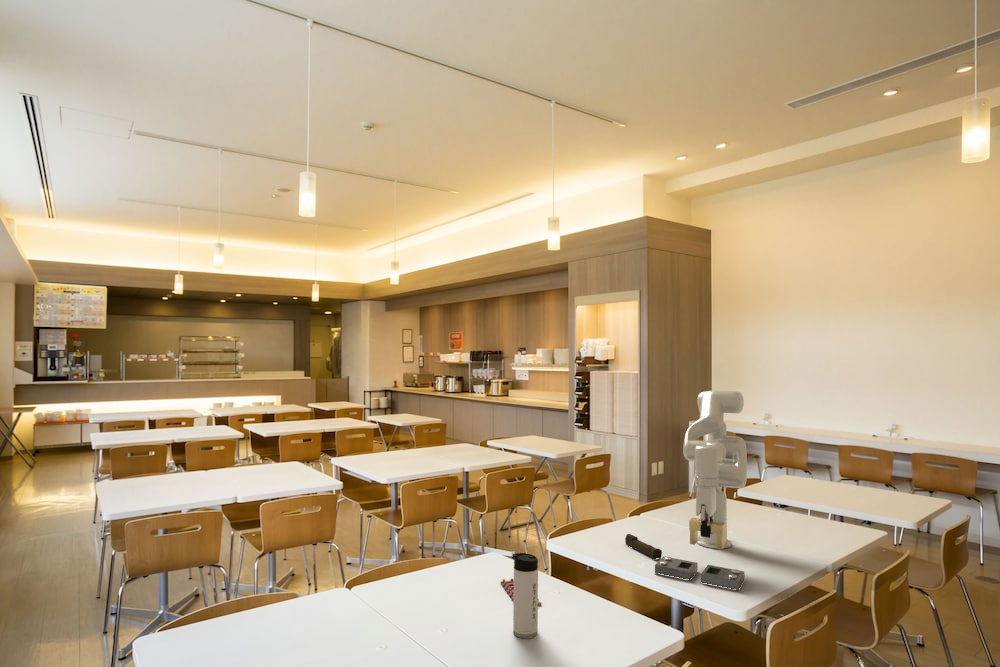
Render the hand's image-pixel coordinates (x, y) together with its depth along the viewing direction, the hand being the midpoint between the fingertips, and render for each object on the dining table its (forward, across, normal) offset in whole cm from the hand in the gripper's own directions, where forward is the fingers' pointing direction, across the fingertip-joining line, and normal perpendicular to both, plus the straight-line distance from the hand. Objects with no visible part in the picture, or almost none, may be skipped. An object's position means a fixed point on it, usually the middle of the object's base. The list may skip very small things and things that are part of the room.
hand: (707, 534), depth 203 cm
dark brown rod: (+12, -2, -24) cm, 27 cm away
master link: (+4, 0, 0) cm, 4 cm away
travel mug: (+9, +77, -28) cm, 83 cm away
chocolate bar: (+10, +56, -41) cm, 71 cm away
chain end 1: (+10, +12, -7) cm, 18 cm away
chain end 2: (+10, +12, +8) cm, 18 cm away
